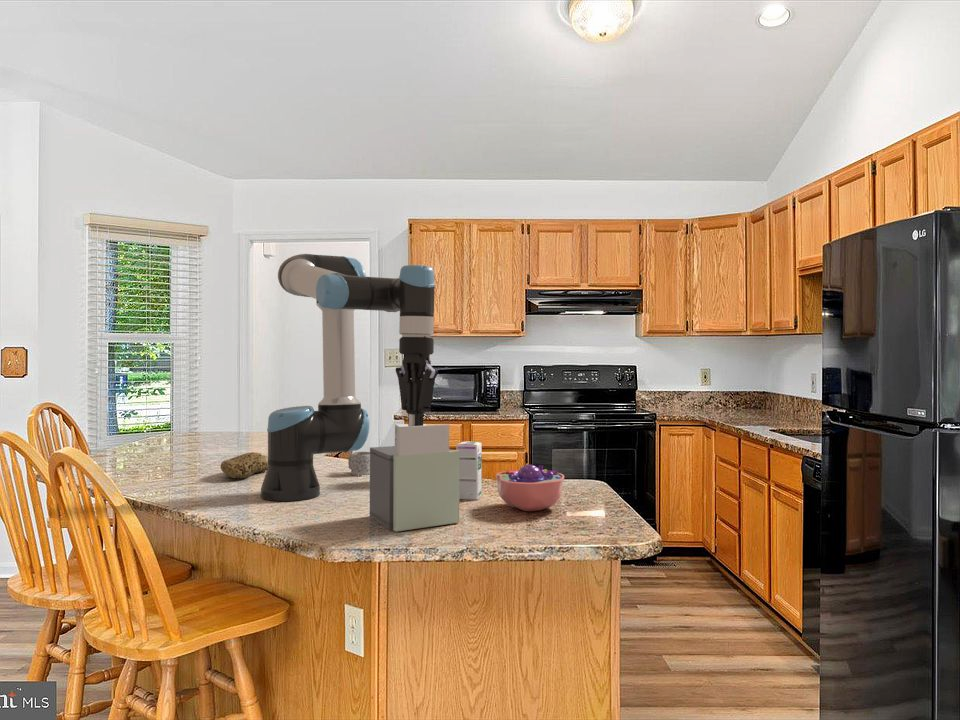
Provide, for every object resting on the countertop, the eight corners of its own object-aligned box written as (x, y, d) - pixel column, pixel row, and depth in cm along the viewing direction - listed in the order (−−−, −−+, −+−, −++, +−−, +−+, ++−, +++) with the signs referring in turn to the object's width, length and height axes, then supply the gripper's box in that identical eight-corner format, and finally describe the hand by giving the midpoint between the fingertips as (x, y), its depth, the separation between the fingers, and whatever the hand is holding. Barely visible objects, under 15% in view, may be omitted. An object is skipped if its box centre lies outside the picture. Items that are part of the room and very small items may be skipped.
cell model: (568, 502, 180) (569, 458, 180) (559, 520, 160) (560, 470, 160) (504, 498, 184) (504, 455, 184) (487, 515, 164) (487, 467, 164)
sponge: (247, 473, 226) (202, 470, 208) (254, 450, 227) (209, 444, 209) (278, 484, 221) (234, 482, 203) (286, 460, 221) (242, 455, 204)
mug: (377, 474, 219) (377, 453, 218) (359, 477, 214) (359, 455, 214) (357, 470, 225) (357, 450, 225) (340, 473, 221) (340, 452, 221)
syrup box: (477, 500, 181) (478, 444, 181) (455, 499, 182) (456, 443, 182) (482, 495, 187) (482, 441, 187) (460, 494, 188) (461, 440, 188)
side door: (393, 530, 149) (393, 427, 149) (456, 521, 157) (457, 423, 157) (395, 531, 148) (396, 427, 148) (459, 522, 156) (459, 424, 156)
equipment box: (369, 515, 163) (369, 447, 163) (433, 509, 170) (433, 443, 170) (389, 529, 151) (389, 455, 150) (457, 522, 158) (457, 451, 158)
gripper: (448, 336, 151) (446, 445, 151) (413, 337, 161) (412, 439, 161) (419, 335, 146) (418, 448, 147) (386, 336, 156) (384, 441, 156)
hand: (415, 443), depth 154 cm, fingers closed
